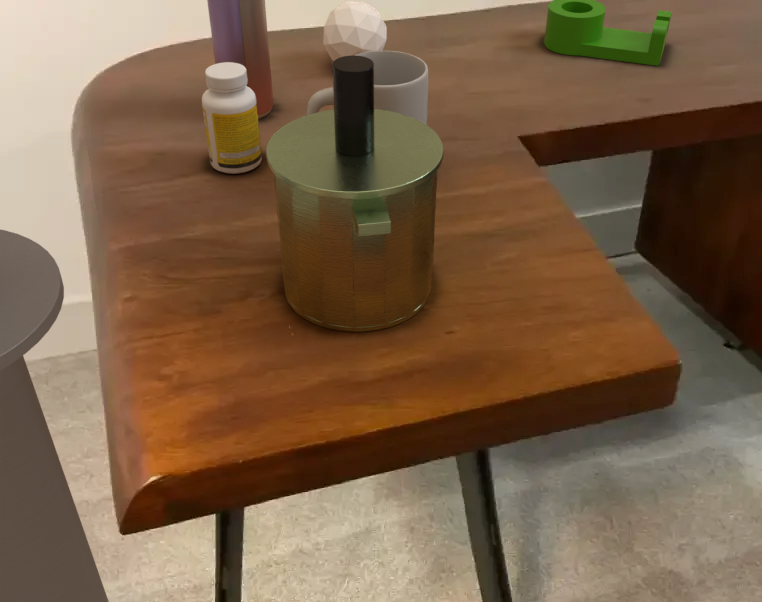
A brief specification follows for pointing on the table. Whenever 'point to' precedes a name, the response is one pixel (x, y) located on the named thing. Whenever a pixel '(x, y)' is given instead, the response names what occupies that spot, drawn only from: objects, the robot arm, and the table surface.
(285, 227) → the pot
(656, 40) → the tape dispenser
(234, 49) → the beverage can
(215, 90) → the supplement bottle
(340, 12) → the geometric ball
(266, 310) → the table surface
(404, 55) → the mug
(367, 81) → the lid
